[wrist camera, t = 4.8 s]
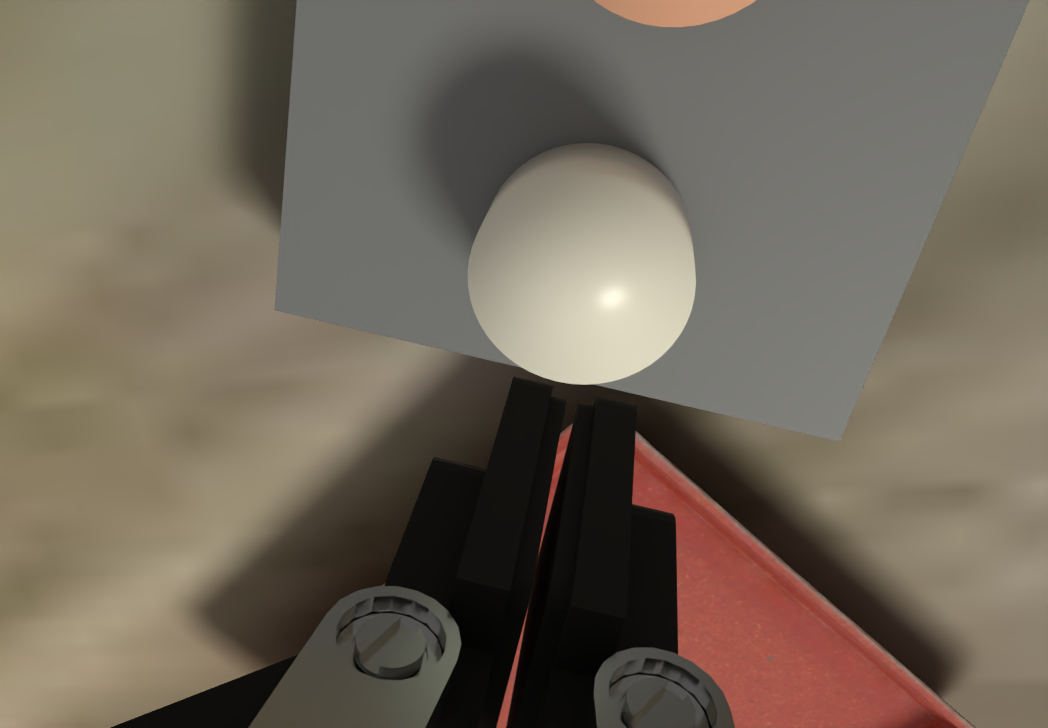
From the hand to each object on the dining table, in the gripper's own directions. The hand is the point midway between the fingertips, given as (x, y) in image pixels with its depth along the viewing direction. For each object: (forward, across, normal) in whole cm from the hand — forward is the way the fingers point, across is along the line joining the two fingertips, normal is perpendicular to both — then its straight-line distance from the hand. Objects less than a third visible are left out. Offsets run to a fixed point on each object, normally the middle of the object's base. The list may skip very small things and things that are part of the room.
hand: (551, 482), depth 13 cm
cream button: (+10, 0, 0) cm, 10 cm away
